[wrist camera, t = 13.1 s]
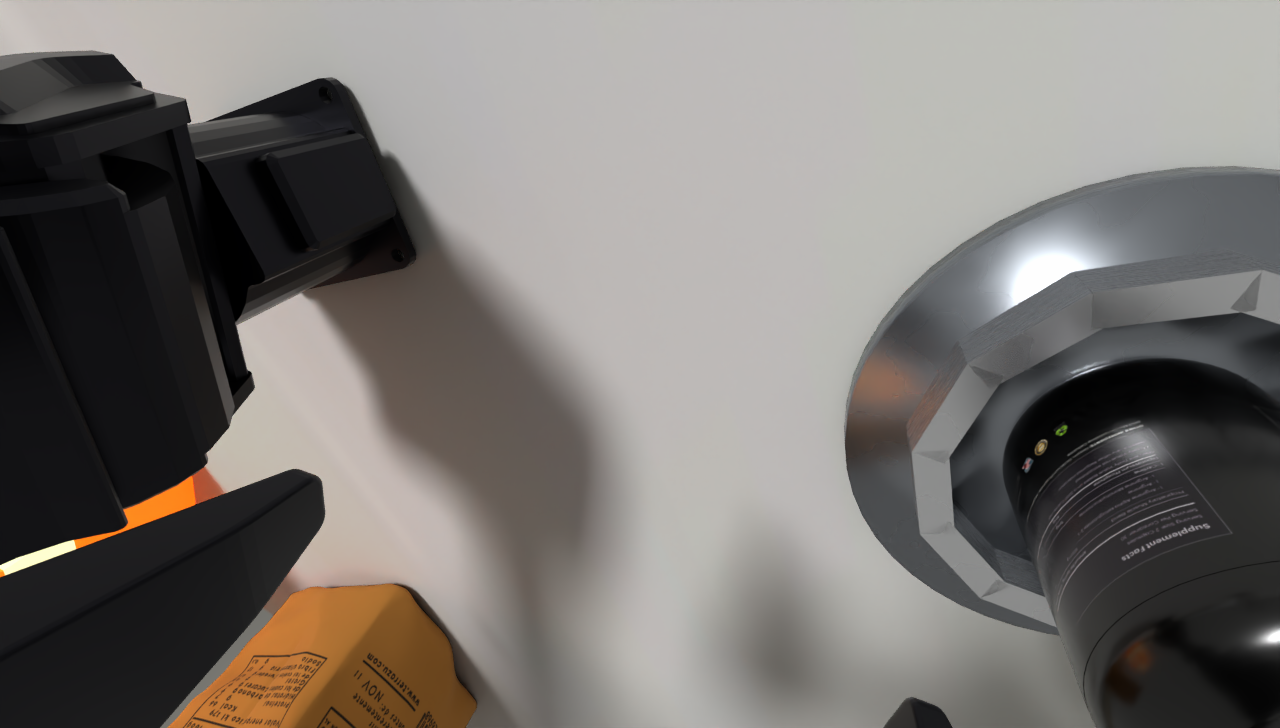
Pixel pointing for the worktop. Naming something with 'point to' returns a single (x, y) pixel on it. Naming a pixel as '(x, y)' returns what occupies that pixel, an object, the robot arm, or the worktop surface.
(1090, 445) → the supplement bottle
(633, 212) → the worktop surface
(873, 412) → the seat plate
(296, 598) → the coffee package
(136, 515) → the orange juice
